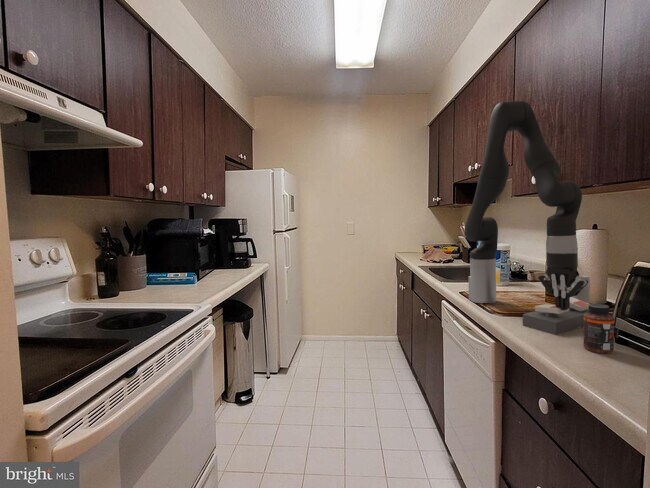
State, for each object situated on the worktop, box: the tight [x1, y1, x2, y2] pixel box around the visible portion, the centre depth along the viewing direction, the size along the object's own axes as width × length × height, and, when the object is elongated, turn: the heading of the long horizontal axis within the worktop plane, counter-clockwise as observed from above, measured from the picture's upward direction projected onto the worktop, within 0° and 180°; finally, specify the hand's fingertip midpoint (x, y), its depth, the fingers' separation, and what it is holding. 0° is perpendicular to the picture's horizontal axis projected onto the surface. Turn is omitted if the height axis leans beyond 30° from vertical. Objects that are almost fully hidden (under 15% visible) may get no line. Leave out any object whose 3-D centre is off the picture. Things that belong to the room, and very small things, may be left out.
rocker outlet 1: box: [534, 303, 569, 314], centre depth 103 cm, size 7×5×2 cm
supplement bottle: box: [583, 303, 615, 355], centre depth 84 cm, size 6×6×11 cm
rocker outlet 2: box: [570, 297, 590, 311], centre depth 107 cm, size 7×5×2 cm
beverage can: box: [571, 274, 591, 304], centre depth 116 cm, size 5×5×12 cm
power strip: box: [522, 307, 589, 336], centre depth 105 cm, size 10×22×4 cm, turn 114°
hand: (562, 309), depth 100 cm, fingers closed
